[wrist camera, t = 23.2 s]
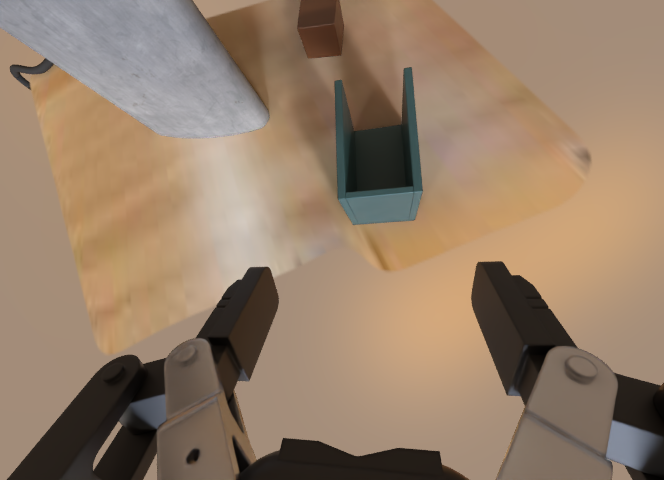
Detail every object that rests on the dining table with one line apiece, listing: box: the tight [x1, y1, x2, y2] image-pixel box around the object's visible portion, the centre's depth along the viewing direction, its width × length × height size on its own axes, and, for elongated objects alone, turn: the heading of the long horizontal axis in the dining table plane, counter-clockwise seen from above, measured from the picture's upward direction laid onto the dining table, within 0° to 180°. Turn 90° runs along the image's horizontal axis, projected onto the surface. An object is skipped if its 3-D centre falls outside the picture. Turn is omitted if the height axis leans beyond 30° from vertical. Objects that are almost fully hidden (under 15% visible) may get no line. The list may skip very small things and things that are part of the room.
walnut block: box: [297, 0, 344, 58], centre depth 31 cm, size 4×4×4 cm
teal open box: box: [335, 67, 423, 225], centre depth 25 cm, size 10×6×8 cm, turn 1°
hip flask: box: [0, 0, 269, 138], centre depth 25 cm, size 16×4×20 cm, turn 86°
